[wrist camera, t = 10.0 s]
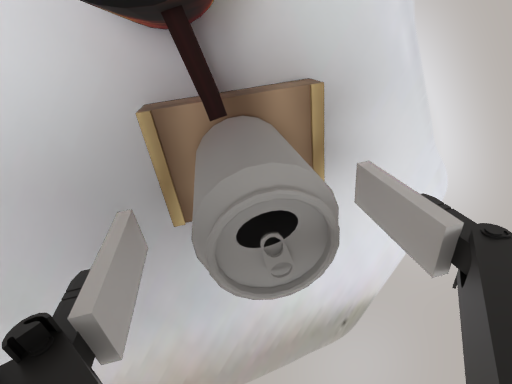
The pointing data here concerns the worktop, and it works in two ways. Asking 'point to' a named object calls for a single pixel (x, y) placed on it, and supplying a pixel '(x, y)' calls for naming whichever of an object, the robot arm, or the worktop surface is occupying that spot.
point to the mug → (175, 38)
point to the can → (260, 212)
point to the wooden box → (236, 104)
